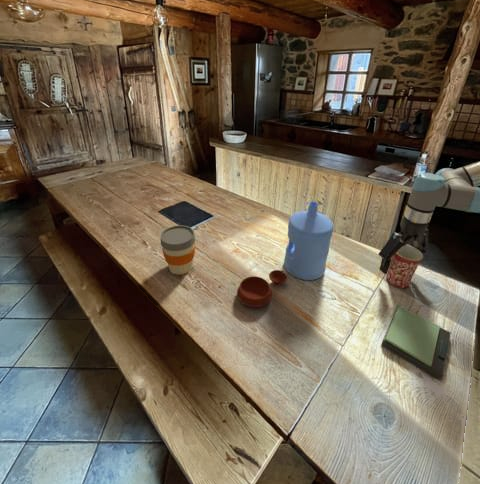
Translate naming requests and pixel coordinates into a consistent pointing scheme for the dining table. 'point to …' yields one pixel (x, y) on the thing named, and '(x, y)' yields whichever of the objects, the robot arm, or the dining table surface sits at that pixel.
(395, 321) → the scale
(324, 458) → the dining table surface
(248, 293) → the pottery
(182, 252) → the reusable coffee cup
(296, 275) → the water jug
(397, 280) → the mug
